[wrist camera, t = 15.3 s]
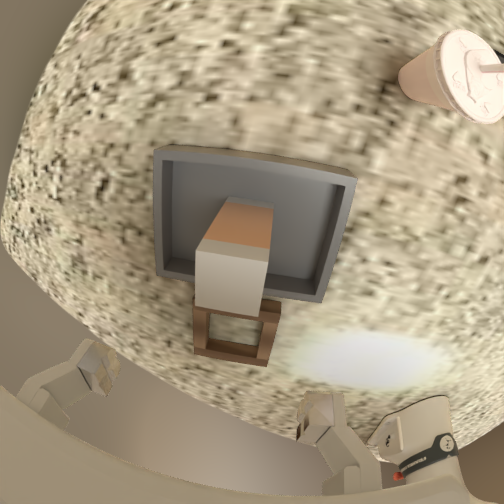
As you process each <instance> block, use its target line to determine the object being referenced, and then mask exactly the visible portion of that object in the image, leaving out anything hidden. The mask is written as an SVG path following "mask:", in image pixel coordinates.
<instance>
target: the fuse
mask: <svg viewBox="0 0 504 504" xmlns="http://www.w3.org/2000/svg"><path fill="white" fill-rule="evenodd" d="M273 211H274V203H270V202H264V201H257V200H251V199H244V198H237V197H230V196H229V197H228V198H227V200H226V201H225V203H224V205H223V206H222V208H221V209H220V211H219V213H218V214H217V216H216V217H215V219H214V221H213V222H212V224H211V226H210V227H209V229H208V231H207V232H206V234H205V236H204V237H203V239H202V241H201V242H200V244H199V246H198V247H197V249H196V256H195V306H199V307H204V308H209V309H215V310H220V311H226V312H231V313H237V314H243V315H249V316H255V317H258V315H259V309H260V304H261V299H262V294H263V288H264V283H265V278H266V272H267V267H268V260H269V251H270V241H271V231H272V221H273Z"/></svg>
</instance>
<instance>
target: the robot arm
mask: <svg viewBox="0 0 504 504" xmlns="http://www.w3.org/2000/svg"><path fill="white" fill-rule="evenodd" d="M116 354H117V353H116V350H115V349H114V348H111V347H108V346H106V345H103V344H100V343H97V342H96V341H93V340H90V339H88V338H86V339H84V340H83V341H82V342H81V344H80V345H79V346H78V348H77V349H76V351H75V352H74V353H73V355H72V356H71V358H70V359H69V361H68V362H62V363H60V364H58V365H56V366H54V367H51V368H49V369H47V370H45V371H43V372H41V373H38V374H36V375H34V376H32V377H30V378H28V379H27V381H26V382H25V384H24V385H23V387H22V388H21V390H20V391H19V392H18V394H17V395H16V397H14V396H13V395H12V394H11V393H9V392H8V391H7V390H6V389H4V388H3V387H2V386H1V385H0V504H497V503H494V502H485V501H481V500H479V499H477V498H475V497H474V496H473V495H471V494H470V493H469V491H468V490H467V488H466V486H465V484H464V481H463V478H462V475H461V471H460V467H459V463H458V458H457V457H458V455H459V453H458V448H457V444H456V441H455V440H454V438H453V428H452V422H451V416H450V411H451V409H450V406H449V398H448V397H446V396H437V397H432V398H429V399H426V400H423V401H420V402H418V403H416V404H413V405H411V406H409V407H407V408H406V409H404V410H402V411H399V412H396V413H393V414H391V415H388V416H386V417H385V418H384V419H383V420H382V422H381V423H380V425H379V426H378V427H377V429H376V430H375V431H374V433H373V434H372V436H371V437H370V438H369V439H368V441H367V442H368V444H369V445H375V446H378V449H379V454H380V457H381V458H382V459H385V460H387V461H390V462H392V463H395V464H397V465H399V469H400V471H401V472H396V473H394V476H395V477H393V478H394V479H395V481H396V480H399V479H403V478H406V485H403V486H398V487H393V488H388V489H382V481H381V468H380V462H379V461H378V460H377V459H376V458H375V456H374V455H373V454H372V453H371V451H370V450H369V449H368V448H367V447H366V445H365V444H364V443H363V442H362V441H361V439H360V438H359V437H358V436H357V434H356V433H355V432H354V431H353V429H352V428H351V427H347V421H346V411H345V402H344V395H343V393H335V392H320V391H306V393H305V394H304V399H303V400H301V402H300V404H299V407H298V412H297V420H298V422H299V423H300V424H299V426H298V427H297V436H296V442H304V443H316V446H317V448H318V449H319V451H320V453H321V454H322V456H323V457H324V459H325V461H326V463H327V464H328V466H329V468H330V469H331V471H332V472H333V474H334V475H333V476H331V477H330V478H328V479H327V480H325V481H324V482H323V483H322V496H284V495H283V496H282V495H267V494H257V493H248V492H240V491H233V490H227V489H221V488H216V487H211V486H206V485H201V484H197V483H193V482H189V481H185V480H181V479H178V478H174V477H171V476H167V475H164V474H161V473H158V472H155V471H152V470H149V469H146V468H143V467H140V466H137V465H135V464H132V463H130V462H127V461H125V460H122V459H120V458H118V457H115V456H113V455H111V454H108V453H106V452H104V451H102V450H100V449H98V448H96V447H94V446H92V445H90V444H88V443H86V442H84V441H82V440H80V439H78V438H76V437H75V436H73V435H71V434H69V433H67V432H66V431H64V430H65V428H66V426H67V424H68V422H69V417H68V416H67V415H66V413H65V412H64V411H63V410H65V409H66V408H68V407H69V406H71V405H72V404H74V403H75V402H77V401H79V400H80V399H81V398H83V397H84V396H86V395H88V394H89V393H91V391H93V392H95V393H98V394H100V395H103V396H105V397H107V396H108V394H109V392H110V390H111V388H112V381H113V380H115V379H117V377H118V375H119V372H120V361H119V360H118V358H117V357H116Z"/></svg>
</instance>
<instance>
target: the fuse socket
mask: <svg viewBox="0 0 504 504" xmlns="http://www.w3.org/2000/svg"><path fill="white" fill-rule="evenodd" d="M210 313H215V314H220V315H226V316H231V317H237V318H243V319H249V320H255V321H261V322H263V326H262V330H261V335H260V339H259V344H258V346H252V345H245V344H239V343H234V342H228V341H223V340H217V339H212V338H209V318H210ZM280 316H281V302H278V301H272V300H265V299H261V304H260V309H259V315H258V317H255V316H249V315H243V314H237V313H231V312H226V311H220V310H215V309H209V308H204V307H199V306H195V295H194V297H193V339H194V354H197V355H201V356H206V357H211V358H216V359H221V360H227V361H232V362H238V363H244V364H250V365H257V366H264V367H267V364H268V360H269V356H270V353H271V349H272V346H273V342H274V338H275V335H276V331H277V327H278V323H279V320H280Z"/></svg>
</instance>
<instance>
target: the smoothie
mask: <svg viewBox="0 0 504 504" xmlns="http://www.w3.org/2000/svg"><path fill="white" fill-rule="evenodd" d="M398 81H399V85H400V87H401V89H402V91H403V92H404V93H405V95H406V96H408V97H409V98H410V99H412V100H415V101H419V102H423V103H427V104H431V105H434V106H438V107H442V108H445V109H448V110H452V111H455V112H458V113H459V114H460V115H461V116H463V117H464V118H466V119H467V120H469V121H472V122H475V123H485V124H490V123H494V122H496V121H498V120H499V119H500V118H501V117H502V116H503V114H504V64H501V62H500V60H499V58H498V56H497V55H496V53H495V52H494V51H493V49H492V48H491V47H490V46H489V45H488V44H487V43H486V42H485V41H484V40H483V39H482V38H481V37H479V36H478V35H476V34H474V33H472V32H470V31H467V30H461V29H459V30H454V31H449V32H445V33H444V34H442V35H441V36H440V37H439V38H438V40H437V42H436V43H435V45H433V46H432V47H431V48H429V49H428V50H426V51H425V52H423V53H422V54H420V55H419V56H417V57H416V58H414V59H413V60H411V61H410V62H408V63H407V64H406V65H404V66H403V67H402V68H401V69H400V71H399V74H398Z"/></svg>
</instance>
